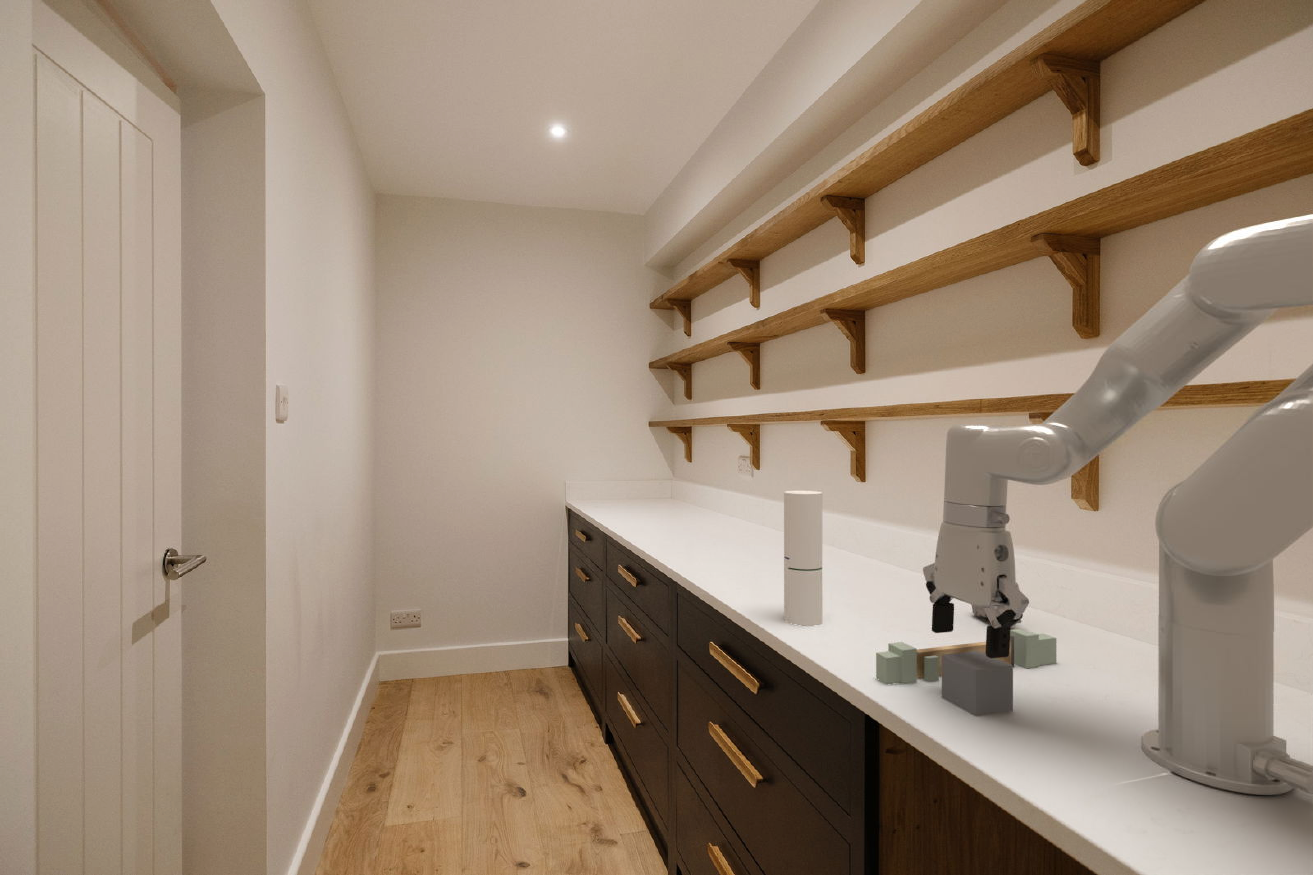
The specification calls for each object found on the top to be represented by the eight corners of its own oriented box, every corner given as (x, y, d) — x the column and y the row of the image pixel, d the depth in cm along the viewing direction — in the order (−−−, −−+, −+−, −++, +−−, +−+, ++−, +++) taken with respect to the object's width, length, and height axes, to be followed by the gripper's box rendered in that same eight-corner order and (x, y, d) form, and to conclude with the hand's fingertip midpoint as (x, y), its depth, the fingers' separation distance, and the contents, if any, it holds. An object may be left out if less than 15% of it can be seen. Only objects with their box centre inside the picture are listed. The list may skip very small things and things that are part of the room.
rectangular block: (1012, 711, 84) (1012, 665, 84) (975, 717, 82) (975, 670, 82) (977, 693, 89) (977, 650, 89) (941, 699, 88) (941, 654, 88)
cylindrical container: (809, 616, 128) (809, 490, 128) (829, 626, 121) (829, 493, 121) (777, 619, 125) (777, 491, 125) (796, 630, 119) (796, 494, 119)
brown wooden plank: (1002, 661, 102) (1002, 632, 102) (1016, 666, 100) (1016, 637, 100) (906, 673, 97) (906, 642, 97) (918, 679, 94) (918, 648, 94)
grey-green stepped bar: (1059, 664, 101) (1059, 632, 100) (889, 687, 91) (889, 652, 91) (1041, 657, 104) (1041, 626, 104) (874, 679, 95) (874, 645, 95)
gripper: (1052, 526, 79) (1046, 665, 79) (949, 507, 95) (945, 622, 96) (1003, 528, 77) (997, 670, 77) (907, 507, 93) (902, 625, 94)
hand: (968, 643), depth 86 cm, fingers open, 9 cm apart
